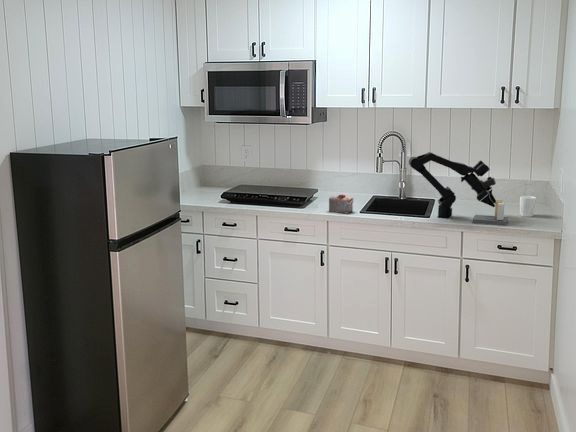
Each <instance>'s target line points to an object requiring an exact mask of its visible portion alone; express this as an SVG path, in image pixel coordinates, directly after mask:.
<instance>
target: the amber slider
mask: <svg viewBox="0 0 576 432" xmlns="http://www.w3.org/2000/svg"><path fill="white" fill-rule="evenodd" d="M495 200H496V204H495V207H494V208H495V209H494V216H495V217H497V206H498V203H504V202H503V200H497V199H495Z"/></svg>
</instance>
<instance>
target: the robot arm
mask: <svg viewBox="0 0 576 432" xmlns="http://www.w3.org/2000/svg"><path fill="white" fill-rule="evenodd" d="M431 161H432V162H434V163H436V164H439V165H442V166H443V167H446V168H448V169H451V170H453V171H454V172H455V173H457V174H459V175H460V182H461V183H463V182H464V181H465V182H466V183H467V184H468V186H470V188H471V190H472V191H474V192H475V193H476V195H477V196H476V200H477V201H478V202H480V203H483V204H486V205H488V206H489V207H492V208H495V205H496V200H497V199H496V197H495V196H494V195H493V187H492V186H495V185H496V180H495V177H491V176H489V177H487V178H486V180H483V179H480V178H479V177H484V175H486V174H487V172H489V171H490V170H491V169H490V167H489V166H488V165H487V164H486V163H485V162H483V161H482V160H479V161H478V162H477V163H476V164H475V165H474V166H469V165H467V164H465V163H464V162H463V163H462V162H457V161H452V160H450V159H447V158H444V157H442V156H440V155H438V154H434V153H433V152H431V151H429V152H427V153H424V154H421V155H417V156H411V157H409V159H408V165H409V167H411V168H412V169H413V170H415V171H416V172H417V173H419V174H420V175H421V176H422V177H423V178H425V180H426V181H427V182H428V183H429V184H430V185H431V186H432V187H433V188H435V190H436V191H437V192H438V194H439V195H440V198H439V199H437V202H438V206H437V207H438V209H437V210H438V211H437V216H436V217H437V218H438V219H439V218H441V219H442V218H443V219H451V218H452V217H453V208H452V205H453V204H454V203H455V202H456V199H457V196H456V193H455V192H454V191H452V189H451V188H450V187H449V186H446V187H444V185H442V184H441V183H440V181H438V180H437V179H436V178H435V176H434V175H433V174H431V172H430V171H429V170H428V169H427V168H426V166H425V164H427V163H429V162H431Z"/></svg>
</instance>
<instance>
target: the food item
mask: <svg viewBox="0 0 576 432" xmlns="http://www.w3.org/2000/svg"><path fill="white" fill-rule="evenodd" d="M353 203H354V198H353V197H346V194H339V195H338V196H335V195H332V196H329V199H328V211H329V212H330V211H338V212H341V213H342V212H349V213H351V212H350V211H352V212H353V211H354V209H353V208H354V206H353ZM338 212H337V213H338Z"/></svg>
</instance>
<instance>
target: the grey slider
mask: <svg viewBox="0 0 576 432" xmlns="http://www.w3.org/2000/svg"><path fill="white" fill-rule="evenodd" d="M504 217H505V202H502V203H498V206H497V220H503V219H504Z"/></svg>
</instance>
